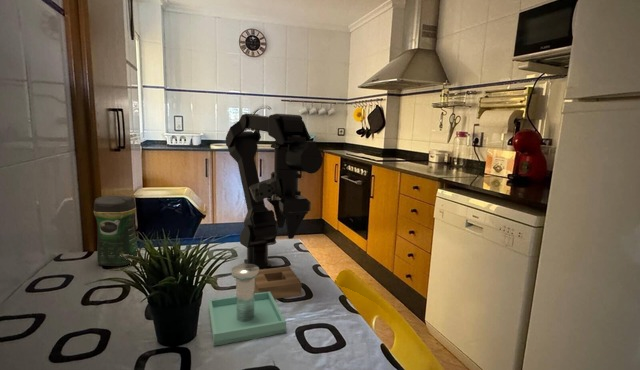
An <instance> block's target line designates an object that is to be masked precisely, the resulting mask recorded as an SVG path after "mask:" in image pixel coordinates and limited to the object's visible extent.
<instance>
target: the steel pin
mask: <svg viewBox="0 0 640 370" xmlns="http://www.w3.org/2000/svg"><path fill="white" fill-rule="evenodd" d="M259 270H260V268H259V267H258V266H257V265H254V264H245V263H240V264H237V265H235V266H232V268H231V276H232V278H234V279H235V281H236V282H235V291H236V292H235V293H236V294H235V296H236V318H237V320H239V321H243V322H246V321H250V320H252V319H253V318H254V317H255V277H256V276H258V275H259Z"/></svg>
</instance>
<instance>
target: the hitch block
mask: <svg viewBox="0 0 640 370" xmlns="http://www.w3.org/2000/svg"><path fill="white" fill-rule="evenodd" d="M269 291H270V292H271V294H272V296H273V298H274V300H276V299H283V298H289V297H296V296H301V295H302V281H301V280H300V279H299V277H298V276H297V275H296V273H295V272H294V271H293V269H292V268H291V266H283V267H282V266H281V267H275V268H274V267H273V268H265V269H264V268H262V269H259V275H258V276H256V277H255V293H262V292H269Z"/></svg>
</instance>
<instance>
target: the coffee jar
mask: <svg viewBox="0 0 640 370" xmlns="http://www.w3.org/2000/svg"><path fill="white" fill-rule="evenodd" d="M93 202H94V203H93V215H94V217H95V220H96V224H97V249H96V250H97V253H96V254H97V255H96V256H97V257H96V258H97V263H98V265H100V266H106V267H108V266H112V267H114V266H116V267H117V266H126V265H129V264H131V263H130V262H129V261H128V260H126V259H125V258H123V257H121V256H120V254H129V255H133V256H137V251H136V248H137V247H138V248H139V246H138V240H137V236H136V229H135V228H136V227H135V214H136V212H137V207H136V201H135V198H134V197H133V196H131V195H127V196H126V195H103V196H99V197H97V198H95V200H94V201H93Z"/></svg>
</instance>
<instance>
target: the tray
mask: <svg viewBox="0 0 640 370" xmlns="http://www.w3.org/2000/svg"><path fill="white" fill-rule="evenodd" d="M207 302H208V303H207V304H208V315H209V321H210V322H209V323H210V328H211V329H210V330H211V335H212V336H211V337H212V343H213V344H212V345H213V347H215V346H220V345H226V344H227V345H228V344H231V343H238V342H243V341H247V340H254V339H258V338H259V339H260V338H264V337H269V336H274V335H281V334H285V333H286V332H287V321H286V319H285V317H284V315H283V313H282V312H281V310H280V308H279V306H278V304H277V301H276V299H274V298H273V296H272V294H271V292H270V291H269V292H262V293H255V317H254V318H253V319H252V320H250V321H246V322H243V321H239V320H237V318H236V295H235V296H234V295H233V296H228V297H219V298H214V299H213V298H212V299H208V301H207Z"/></svg>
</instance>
